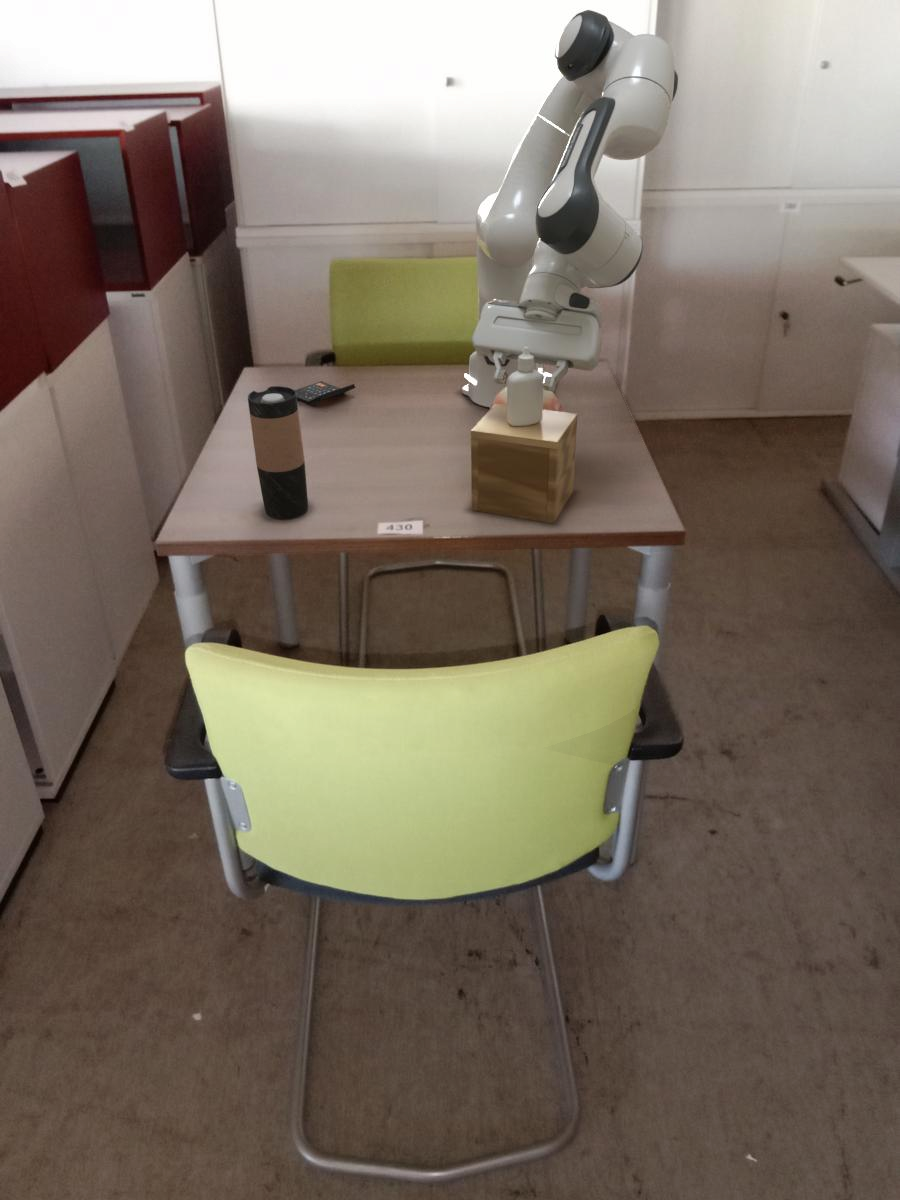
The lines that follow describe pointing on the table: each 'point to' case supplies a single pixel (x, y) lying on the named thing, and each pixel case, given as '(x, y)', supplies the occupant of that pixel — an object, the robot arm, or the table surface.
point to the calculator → (319, 392)
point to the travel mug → (279, 452)
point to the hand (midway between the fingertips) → (523, 385)
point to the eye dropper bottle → (525, 393)
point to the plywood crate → (523, 465)
